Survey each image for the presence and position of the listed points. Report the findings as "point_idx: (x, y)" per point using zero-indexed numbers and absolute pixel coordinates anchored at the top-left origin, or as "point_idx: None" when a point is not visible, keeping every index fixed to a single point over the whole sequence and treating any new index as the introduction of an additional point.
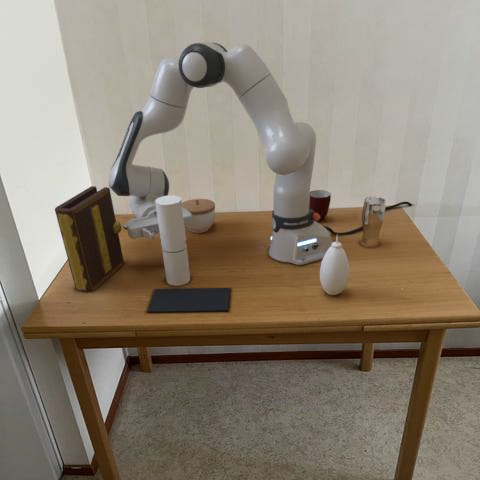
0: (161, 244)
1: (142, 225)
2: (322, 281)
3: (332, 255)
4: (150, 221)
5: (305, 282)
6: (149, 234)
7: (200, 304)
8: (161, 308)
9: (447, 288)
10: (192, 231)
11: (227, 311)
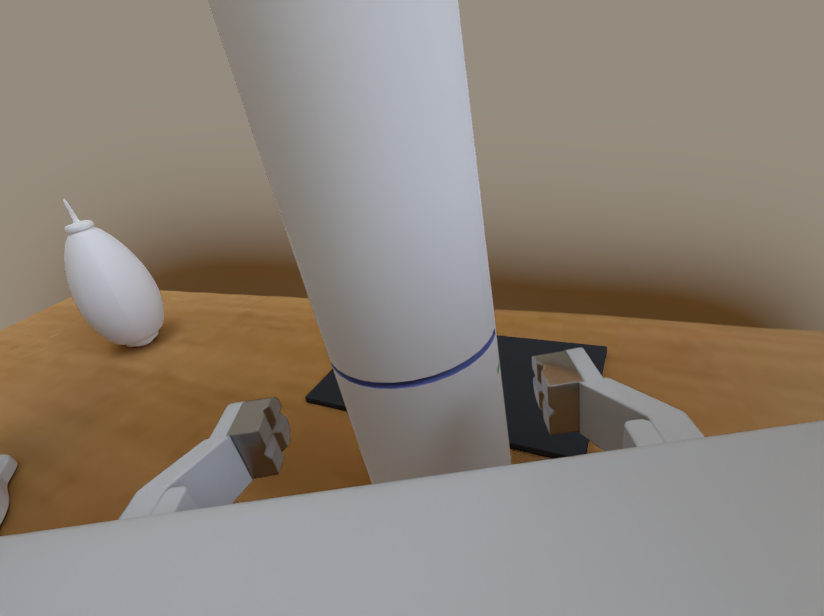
0: (495, 330)
1: (705, 449)
2: (155, 301)
3: (113, 237)
4: (568, 547)
5: (127, 385)
6: (581, 350)
7: None
8: (555, 350)
9: (17, 326)
10: None
11: None
